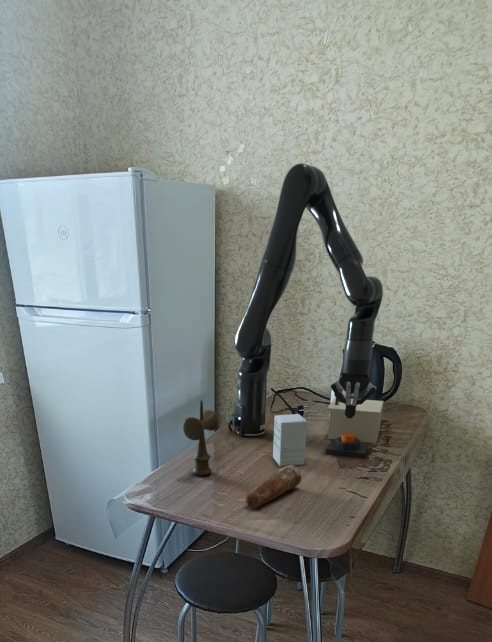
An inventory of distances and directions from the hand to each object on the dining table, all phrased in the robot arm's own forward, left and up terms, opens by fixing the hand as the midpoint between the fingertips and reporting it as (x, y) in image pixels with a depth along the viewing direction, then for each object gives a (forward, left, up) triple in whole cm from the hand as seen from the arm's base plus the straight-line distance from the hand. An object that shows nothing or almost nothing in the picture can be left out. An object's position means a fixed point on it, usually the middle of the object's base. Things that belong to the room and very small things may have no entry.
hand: (349, 417), depth 166 cm
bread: (-35, -22, -10) cm, 43 cm away
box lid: (+11, +13, -1) cm, 17 cm away
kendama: (-46, -1, -10) cm, 47 cm away
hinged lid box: (+11, +13, -10) cm, 20 cm away
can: (+14, +27, -10) cm, 32 cm away
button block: (0, 0, -10) cm, 10 cm away
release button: (0, 0, -7) cm, 7 cm away
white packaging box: (-20, -1, -10) cm, 22 cm away
